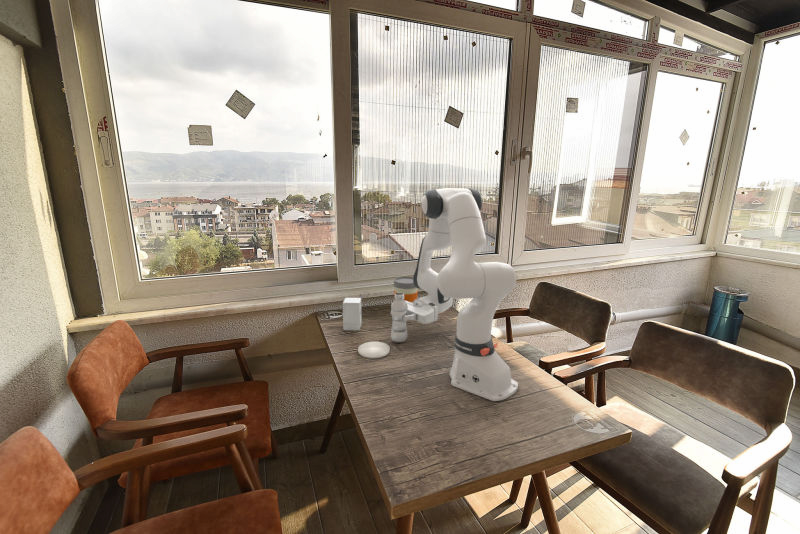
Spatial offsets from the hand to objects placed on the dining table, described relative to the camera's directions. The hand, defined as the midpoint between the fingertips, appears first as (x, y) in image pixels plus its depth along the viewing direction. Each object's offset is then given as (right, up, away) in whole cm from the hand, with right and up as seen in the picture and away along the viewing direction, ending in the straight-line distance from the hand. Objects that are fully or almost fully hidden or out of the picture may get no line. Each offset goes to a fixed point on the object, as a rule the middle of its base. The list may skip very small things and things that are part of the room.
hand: (397, 316), depth 148 cm
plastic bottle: (0, -11, +3) cm, 11 cm away
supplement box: (-20, -7, +17) cm, 27 cm away
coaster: (-9, -13, -5) cm, 16 cm away
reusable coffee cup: (+4, -2, +40) cm, 41 cm away
